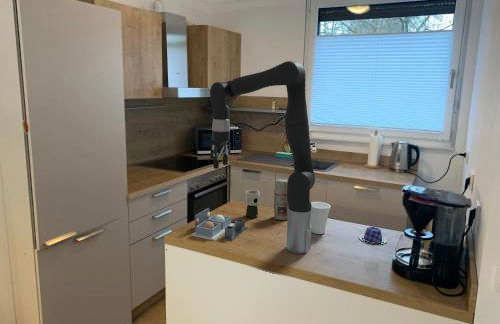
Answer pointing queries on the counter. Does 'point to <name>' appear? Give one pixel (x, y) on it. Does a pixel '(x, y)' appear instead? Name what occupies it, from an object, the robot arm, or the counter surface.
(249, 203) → the character mug
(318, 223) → the cup
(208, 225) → the terracotta ball
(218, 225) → the rack
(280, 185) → the spray can
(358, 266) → the counter surface
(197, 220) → the card
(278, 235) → the counter surface
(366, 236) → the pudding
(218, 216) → the cream ball
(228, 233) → the post stand
